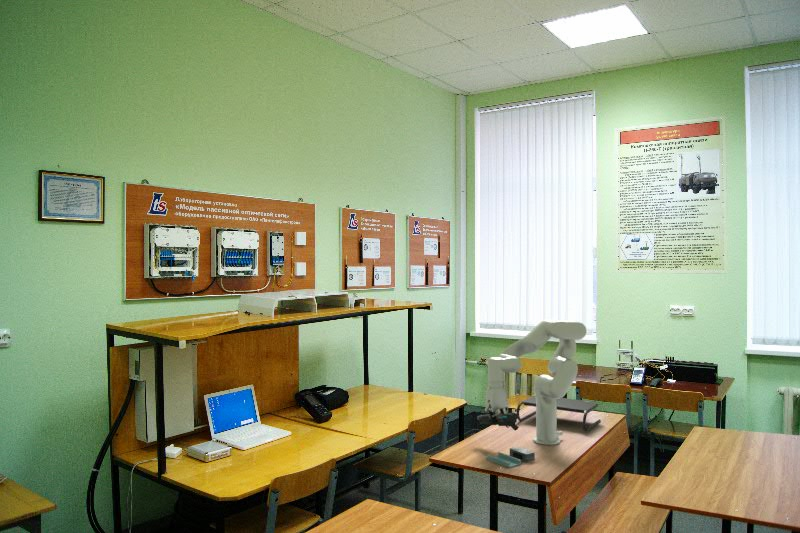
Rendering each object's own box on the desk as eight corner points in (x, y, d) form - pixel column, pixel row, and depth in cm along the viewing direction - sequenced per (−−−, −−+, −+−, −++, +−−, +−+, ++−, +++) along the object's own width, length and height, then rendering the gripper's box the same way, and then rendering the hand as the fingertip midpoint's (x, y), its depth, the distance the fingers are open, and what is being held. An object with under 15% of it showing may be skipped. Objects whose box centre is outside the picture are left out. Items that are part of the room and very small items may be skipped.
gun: (516, 430, 255) (508, 408, 258) (482, 438, 268) (476, 417, 271) (521, 428, 258) (514, 406, 261) (488, 435, 272) (481, 414, 274)
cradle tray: (499, 456, 251) (499, 452, 251) (520, 464, 240) (520, 460, 240) (486, 459, 247) (486, 455, 247) (508, 468, 236) (508, 463, 236)
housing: (517, 454, 254) (517, 446, 254) (534, 460, 245) (534, 452, 246) (508, 456, 251) (508, 448, 251) (525, 462, 242) (525, 454, 242)
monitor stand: (601, 422, 309) (600, 402, 309) (585, 434, 286) (585, 412, 286) (535, 412, 330) (535, 394, 330) (516, 423, 307) (515, 403, 307)
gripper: (504, 380, 273) (505, 418, 273) (477, 385, 263) (478, 425, 263) (515, 382, 266) (517, 421, 266) (488, 388, 257) (489, 428, 257)
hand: (497, 423), depth 265 cm, fingers closed on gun, 5 cm apart
